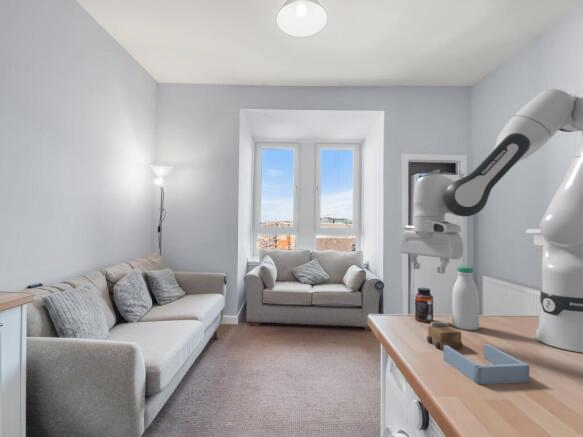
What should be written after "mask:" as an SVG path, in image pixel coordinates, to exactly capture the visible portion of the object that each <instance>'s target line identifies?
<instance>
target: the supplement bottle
mask: <svg viewBox="0 0 583 437" xmlns="http://www.w3.org/2000/svg"><path fill="white" fill-rule="evenodd" d="M414 319H415V320H416V321H418V322H421V323H430V322H434V296H433V295H432V294H431V289H430V288H427V287H417V293H415V295H414Z"/></svg>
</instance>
